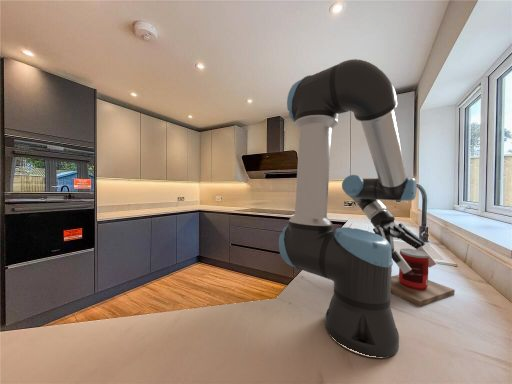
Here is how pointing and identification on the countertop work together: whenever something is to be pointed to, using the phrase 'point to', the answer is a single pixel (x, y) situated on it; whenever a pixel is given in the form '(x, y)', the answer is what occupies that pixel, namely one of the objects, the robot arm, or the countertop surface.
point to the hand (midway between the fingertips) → (421, 268)
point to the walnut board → (420, 292)
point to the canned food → (415, 269)
